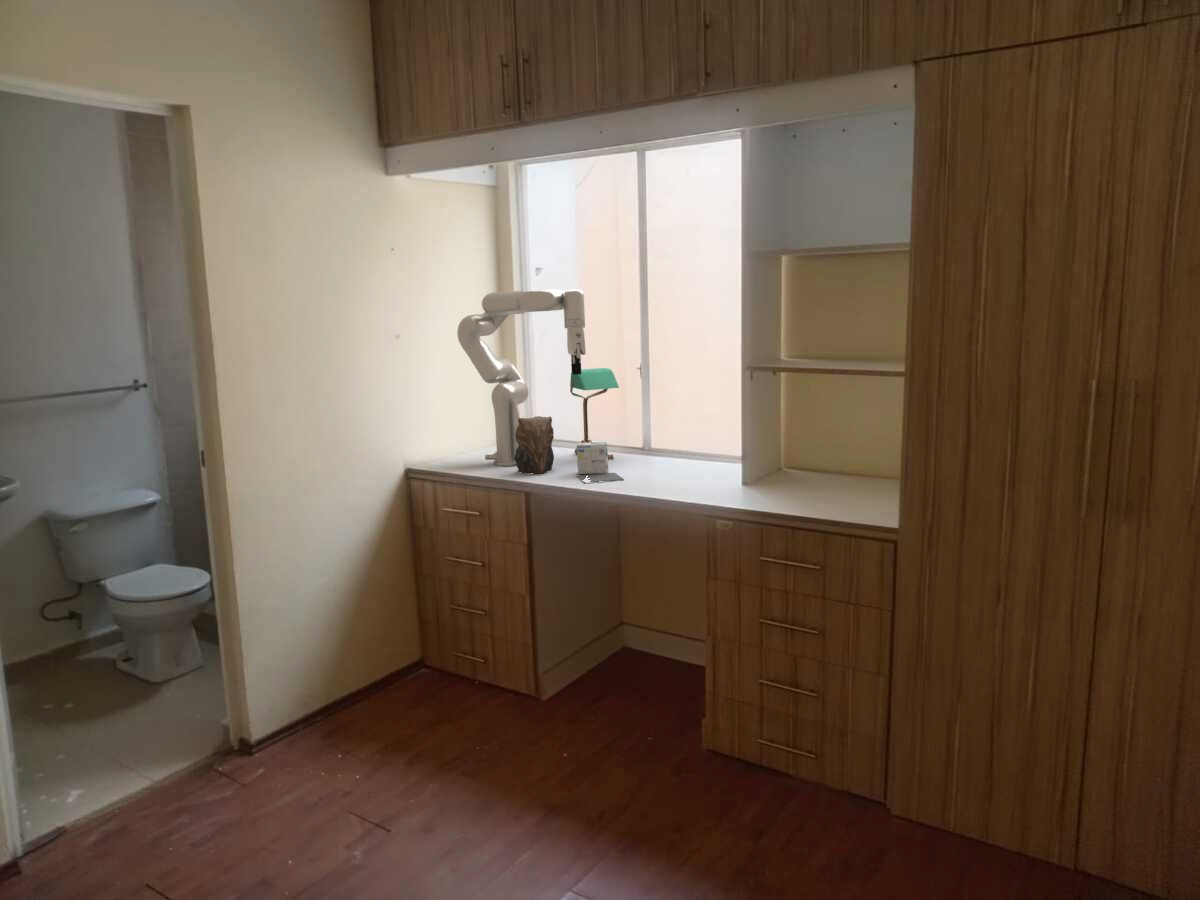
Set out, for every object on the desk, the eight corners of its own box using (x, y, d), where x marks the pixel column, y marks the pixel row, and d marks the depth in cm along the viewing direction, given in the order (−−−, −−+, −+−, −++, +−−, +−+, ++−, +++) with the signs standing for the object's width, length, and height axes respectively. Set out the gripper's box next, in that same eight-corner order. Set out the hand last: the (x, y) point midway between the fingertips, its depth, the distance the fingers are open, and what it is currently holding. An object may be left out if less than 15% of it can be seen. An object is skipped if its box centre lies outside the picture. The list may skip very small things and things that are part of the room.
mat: (584, 483, 298) (584, 482, 297) (576, 476, 309) (576, 475, 309) (623, 480, 301) (623, 479, 301) (614, 473, 312) (614, 472, 312)
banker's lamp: (601, 450, 358) (598, 366, 352) (623, 458, 340) (620, 369, 333) (566, 454, 352) (562, 368, 346) (586, 463, 333) (583, 372, 327)
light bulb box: (608, 470, 317) (607, 441, 316) (607, 473, 311) (605, 443, 309) (579, 471, 318) (578, 442, 317) (577, 474, 312) (576, 444, 310)
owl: (513, 472, 320) (510, 419, 317) (532, 466, 331) (530, 414, 327) (542, 475, 314) (539, 420, 310) (560, 468, 325) (558, 415, 321)
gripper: (589, 324, 310) (591, 375, 314) (580, 323, 325) (581, 372, 328) (569, 324, 309) (571, 376, 312) (560, 323, 323) (562, 373, 327)
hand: (576, 373), depth 320 cm, fingers closed
